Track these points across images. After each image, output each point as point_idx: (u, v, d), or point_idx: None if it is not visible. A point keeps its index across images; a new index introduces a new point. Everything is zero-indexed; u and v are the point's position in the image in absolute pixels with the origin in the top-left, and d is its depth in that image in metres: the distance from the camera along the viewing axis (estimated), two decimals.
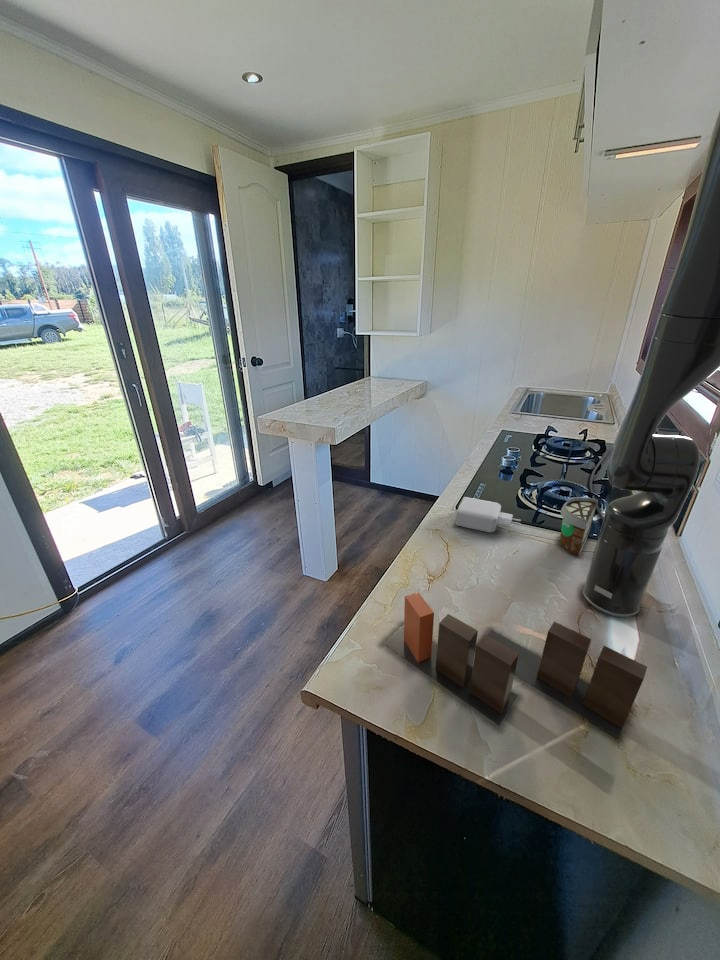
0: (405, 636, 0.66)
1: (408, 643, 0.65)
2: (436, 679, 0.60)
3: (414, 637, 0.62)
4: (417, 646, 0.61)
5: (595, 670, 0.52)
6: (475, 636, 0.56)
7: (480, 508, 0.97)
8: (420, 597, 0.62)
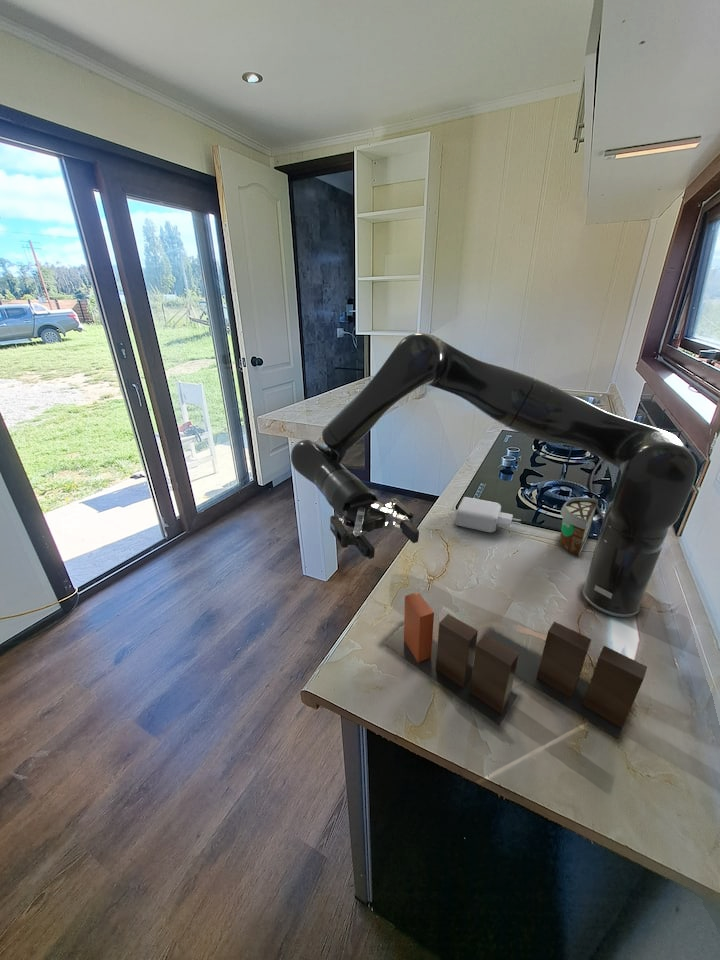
0: (405, 636, 0.66)
1: (408, 643, 0.65)
2: (436, 679, 0.60)
3: (414, 637, 0.62)
4: (417, 646, 0.61)
5: (595, 670, 0.52)
6: (475, 636, 0.56)
7: (480, 508, 0.97)
8: (420, 597, 0.62)
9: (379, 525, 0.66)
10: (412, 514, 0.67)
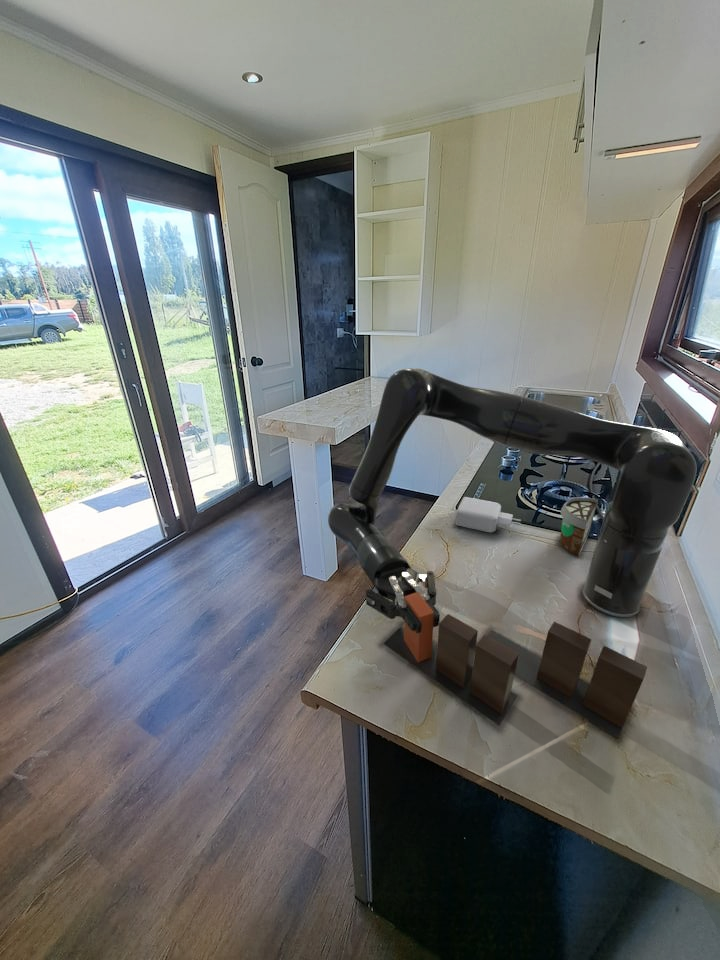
0: (405, 636, 0.66)
1: (408, 643, 0.65)
2: (436, 679, 0.60)
3: (414, 637, 0.62)
4: (417, 646, 0.61)
5: (595, 670, 0.52)
6: (475, 636, 0.56)
7: (480, 508, 0.97)
8: (420, 597, 0.62)
9: None
10: (434, 593, 0.63)
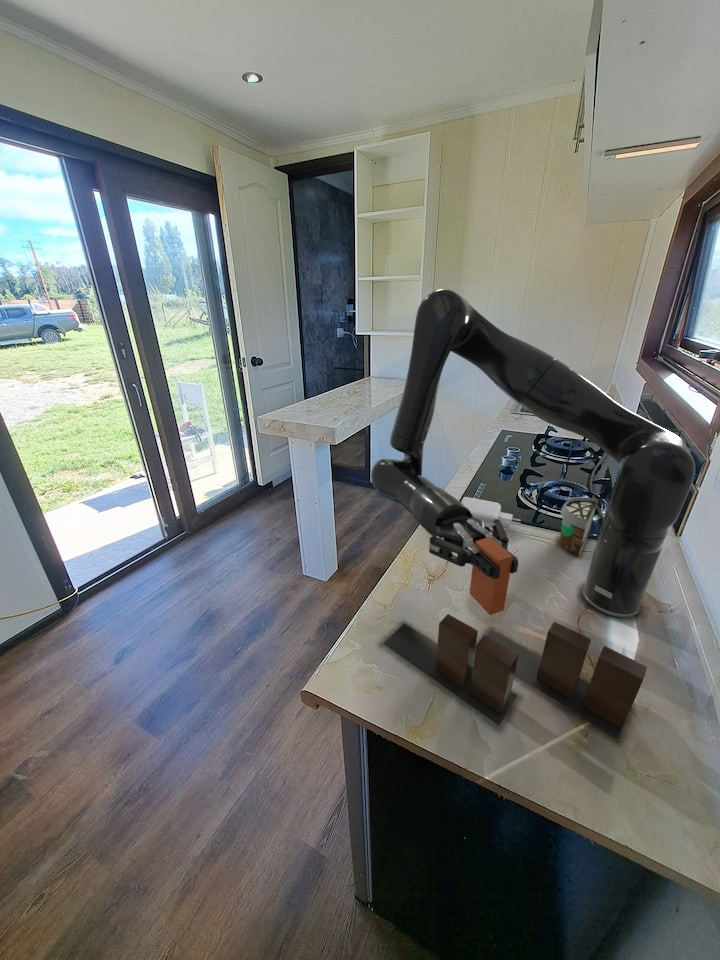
0: (472, 589, 0.59)
1: (475, 595, 0.59)
2: (436, 679, 0.60)
3: (487, 587, 0.55)
4: (491, 596, 0.55)
5: (595, 670, 0.52)
6: (475, 636, 0.56)
7: (480, 508, 0.97)
8: (494, 542, 0.55)
9: None
10: (506, 539, 0.57)
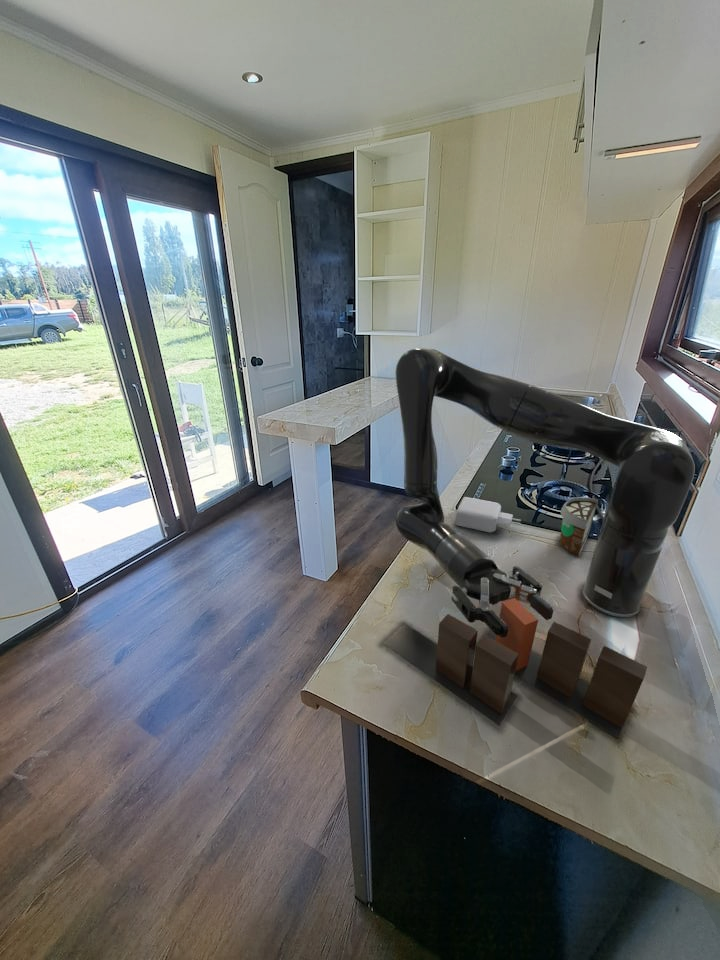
0: None
1: None
2: (436, 679, 0.60)
3: (513, 645, 0.60)
4: None
5: (595, 670, 0.52)
6: (475, 636, 0.56)
7: (480, 508, 0.97)
8: (519, 604, 0.60)
9: (504, 597, 0.63)
10: (540, 586, 0.63)
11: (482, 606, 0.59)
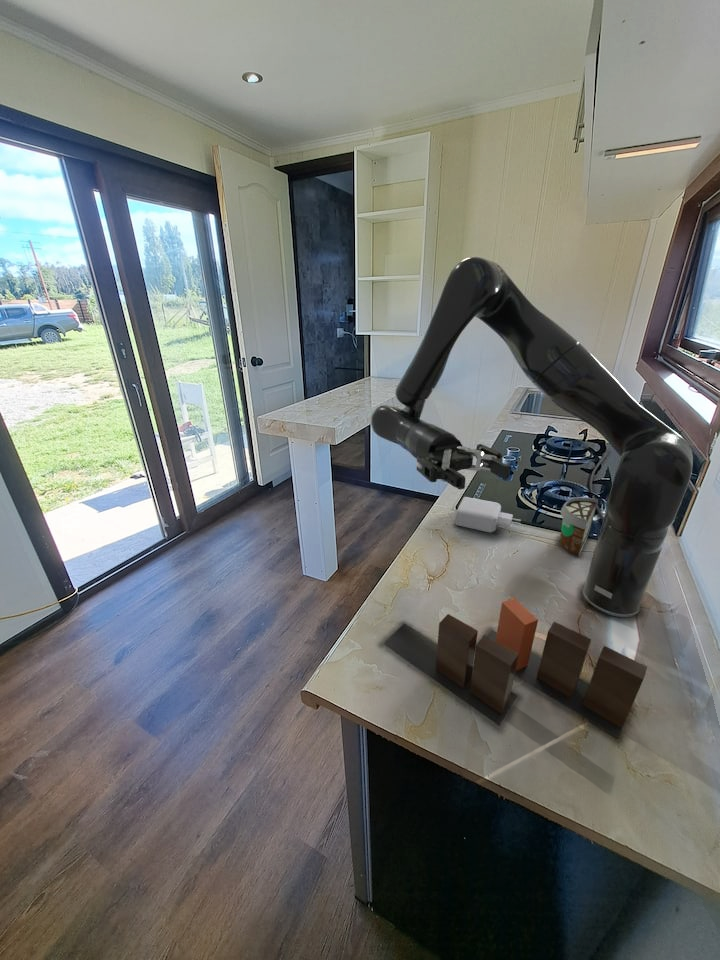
0: None
1: None
2: (436, 679, 0.60)
3: (513, 645, 0.60)
4: None
5: (595, 670, 0.52)
6: (475, 636, 0.56)
7: (480, 508, 0.97)
8: (519, 604, 0.60)
9: (466, 465, 0.66)
10: (500, 454, 0.66)
11: (443, 466, 0.62)
